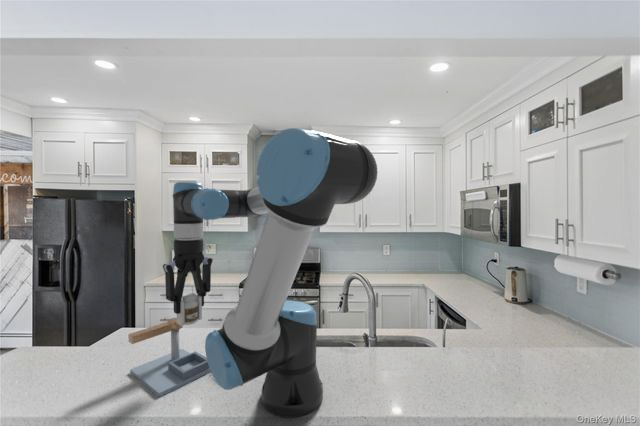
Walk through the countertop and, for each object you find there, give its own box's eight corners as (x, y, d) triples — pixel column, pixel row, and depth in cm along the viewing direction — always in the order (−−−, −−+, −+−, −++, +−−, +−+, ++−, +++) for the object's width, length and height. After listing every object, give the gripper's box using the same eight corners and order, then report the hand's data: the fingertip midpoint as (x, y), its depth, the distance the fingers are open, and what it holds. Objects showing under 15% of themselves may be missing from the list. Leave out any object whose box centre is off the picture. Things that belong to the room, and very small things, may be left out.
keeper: (178, 323, 93) (178, 316, 92) (185, 327, 90) (185, 320, 90) (127, 340, 81) (127, 332, 81) (133, 345, 79) (133, 336, 79)
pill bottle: (187, 326, 82) (186, 298, 81) (177, 322, 84) (177, 295, 84) (201, 321, 86) (201, 294, 85) (191, 317, 88) (191, 291, 87)
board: (213, 370, 86) (213, 335, 86) (159, 397, 74) (158, 357, 74) (182, 351, 96) (181, 321, 96) (130, 372, 85) (129, 337, 84)
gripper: (209, 234, 93) (209, 309, 94) (149, 240, 79) (150, 327, 80) (224, 236, 88) (224, 315, 89) (163, 243, 75) (164, 335, 76)
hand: (189, 321), depth 85 cm, fingers closed on pill bottle, 4 cm apart
